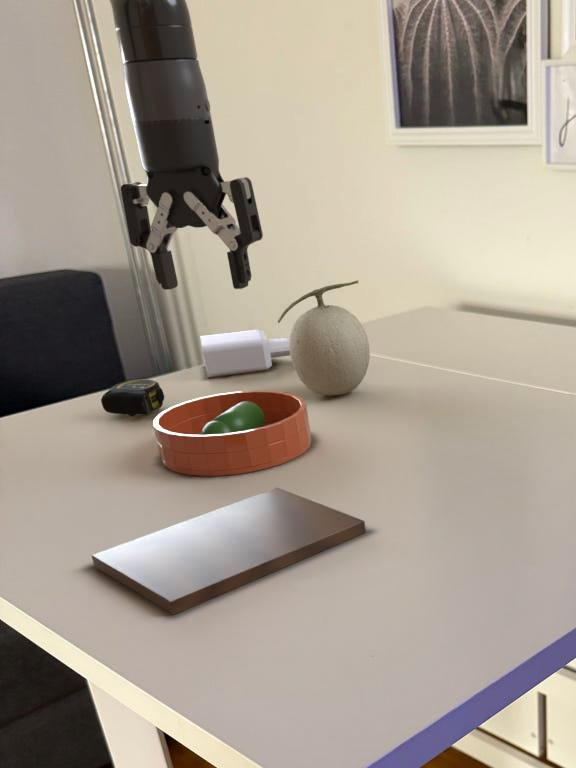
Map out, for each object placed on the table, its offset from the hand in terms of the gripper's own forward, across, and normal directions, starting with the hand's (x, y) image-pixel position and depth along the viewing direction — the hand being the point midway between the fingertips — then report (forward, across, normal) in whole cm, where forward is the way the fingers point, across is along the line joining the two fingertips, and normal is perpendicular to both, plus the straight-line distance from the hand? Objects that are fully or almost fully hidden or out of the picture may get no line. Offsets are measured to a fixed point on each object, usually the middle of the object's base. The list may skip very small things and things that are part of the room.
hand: (205, 288), depth 100 cm
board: (+18, +13, -26) cm, 34 cm away
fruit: (+18, +3, +23) cm, 29 cm away
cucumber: (+18, 0, 0) cm, 18 cm away
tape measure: (+18, -21, +12) cm, 30 cm away
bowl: (+18, 0, 0) cm, 18 cm away
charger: (+18, -16, +37) cm, 44 cm away
